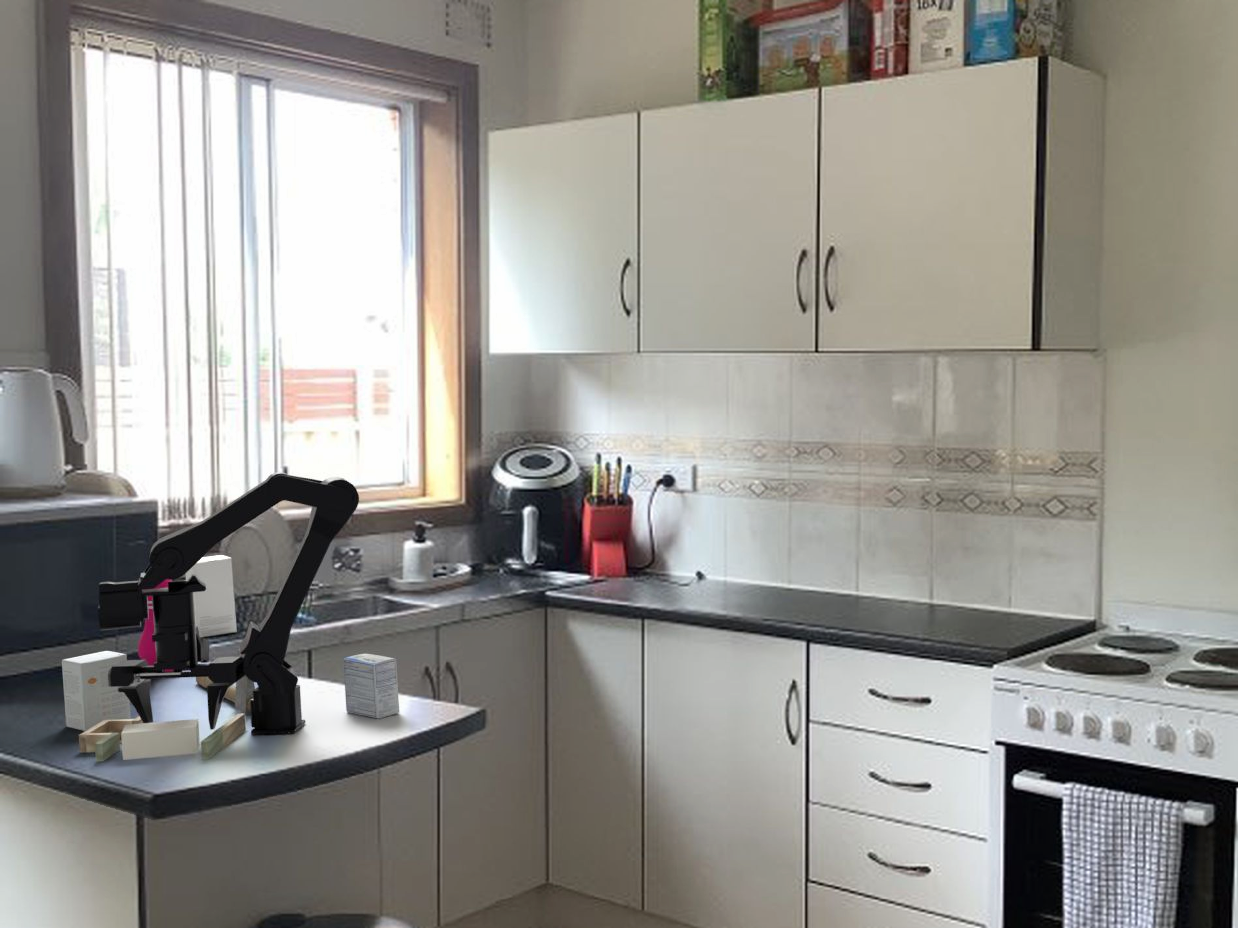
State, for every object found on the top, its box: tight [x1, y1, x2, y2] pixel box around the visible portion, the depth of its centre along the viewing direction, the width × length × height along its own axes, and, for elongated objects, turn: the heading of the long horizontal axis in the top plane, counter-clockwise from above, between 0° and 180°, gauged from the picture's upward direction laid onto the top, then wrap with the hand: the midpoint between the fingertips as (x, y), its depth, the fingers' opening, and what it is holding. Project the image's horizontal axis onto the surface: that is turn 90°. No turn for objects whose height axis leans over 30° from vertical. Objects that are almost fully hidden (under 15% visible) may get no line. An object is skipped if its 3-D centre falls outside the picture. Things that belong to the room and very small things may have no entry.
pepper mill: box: [137, 579, 173, 672], centre depth 264 cm, size 7×7×20 cm
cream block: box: [121, 718, 201, 761], centre depth 210 cm, size 10×5×4 cm, turn 102°
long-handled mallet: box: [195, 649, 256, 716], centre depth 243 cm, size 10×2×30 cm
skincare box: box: [184, 554, 238, 638], centre depth 303 cm, size 8×7×16 cm
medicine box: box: [343, 653, 400, 720], centre depth 228 cm, size 8×4×9 cm, turn 47°
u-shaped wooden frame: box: [78, 713, 247, 762], centre depth 213 cm, size 20×16×2 cm
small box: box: [61, 650, 132, 732], centre depth 228 cm, size 8×6×10 cm
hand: (181, 729), depth 216 cm, fingers open, 9 cm apart
